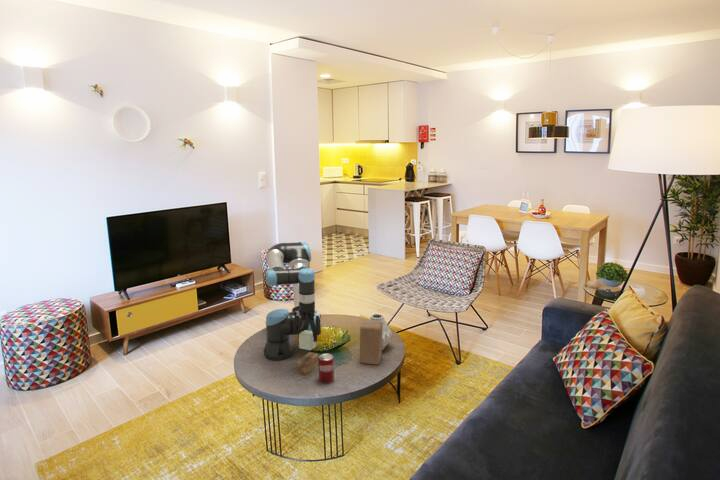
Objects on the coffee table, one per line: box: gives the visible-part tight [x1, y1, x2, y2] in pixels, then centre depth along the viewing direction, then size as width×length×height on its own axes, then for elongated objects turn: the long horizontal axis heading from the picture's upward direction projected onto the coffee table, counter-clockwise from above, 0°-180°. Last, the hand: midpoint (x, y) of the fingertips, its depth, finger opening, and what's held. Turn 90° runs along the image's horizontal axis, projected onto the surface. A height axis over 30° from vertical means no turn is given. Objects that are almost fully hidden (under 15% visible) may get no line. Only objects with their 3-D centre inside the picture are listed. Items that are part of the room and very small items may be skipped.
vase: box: [368, 313, 393, 351], centre depth 250 cm, size 16×16×18 cm
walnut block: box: [297, 351, 319, 377], centre depth 228 cm, size 5×12×6 cm, turn 158°
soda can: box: [317, 353, 335, 385], centre depth 217 cm, size 7×7×12 cm
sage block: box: [298, 330, 313, 351], centre depth 225 cm, size 6×6×7 cm
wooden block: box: [359, 319, 383, 366], centre depth 236 cm, size 10×10×20 cm
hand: (307, 346), depth 226 cm, fingers closed on sage block, 6 cm apart
